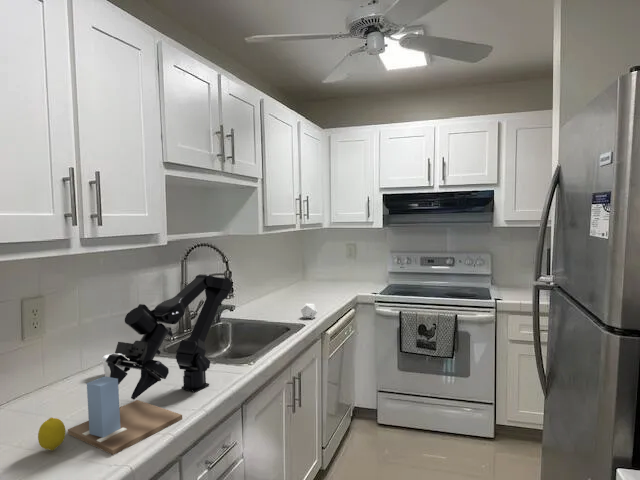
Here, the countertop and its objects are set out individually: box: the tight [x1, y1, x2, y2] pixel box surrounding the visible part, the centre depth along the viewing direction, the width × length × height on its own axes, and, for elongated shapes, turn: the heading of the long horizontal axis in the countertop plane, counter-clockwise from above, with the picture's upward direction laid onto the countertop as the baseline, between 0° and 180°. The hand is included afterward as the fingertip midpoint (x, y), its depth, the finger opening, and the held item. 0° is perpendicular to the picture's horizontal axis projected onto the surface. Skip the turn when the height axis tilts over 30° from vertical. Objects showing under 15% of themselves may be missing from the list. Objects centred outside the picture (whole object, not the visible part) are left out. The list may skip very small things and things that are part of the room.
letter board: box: [67, 399, 183, 456], centre depth 110 cm, size 20×20×1 cm
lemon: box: [37, 417, 66, 452], centre depth 99 cm, size 6×6×8 cm
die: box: [300, 303, 318, 320], centre depth 228 cm, size 8×9×10 cm
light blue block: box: [86, 375, 120, 438], centre depth 105 cm, size 5×5×13 cm
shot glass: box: [101, 352, 124, 377], centre depth 149 cm, size 7×7×7 cm
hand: (120, 396), depth 109 cm, fingers open, 9 cm apart
